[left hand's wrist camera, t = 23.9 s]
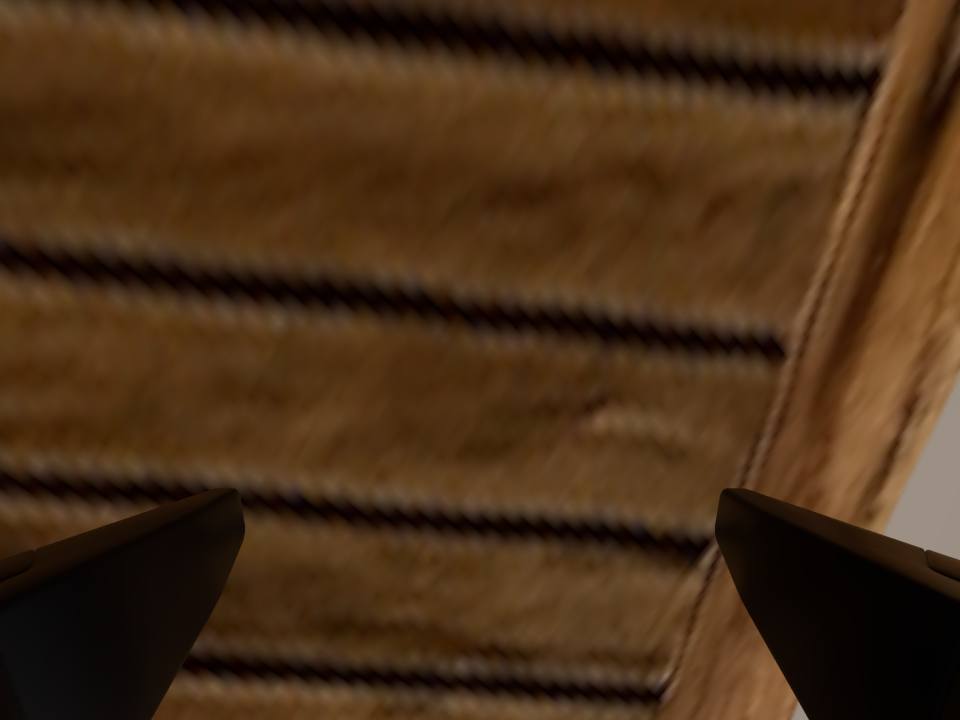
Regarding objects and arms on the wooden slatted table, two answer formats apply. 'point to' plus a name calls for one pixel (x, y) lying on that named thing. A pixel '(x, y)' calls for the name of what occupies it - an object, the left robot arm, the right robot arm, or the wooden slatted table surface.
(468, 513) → the wooden slatted table surface
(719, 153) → the wooden slatted table surface
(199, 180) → the wooden slatted table surface
